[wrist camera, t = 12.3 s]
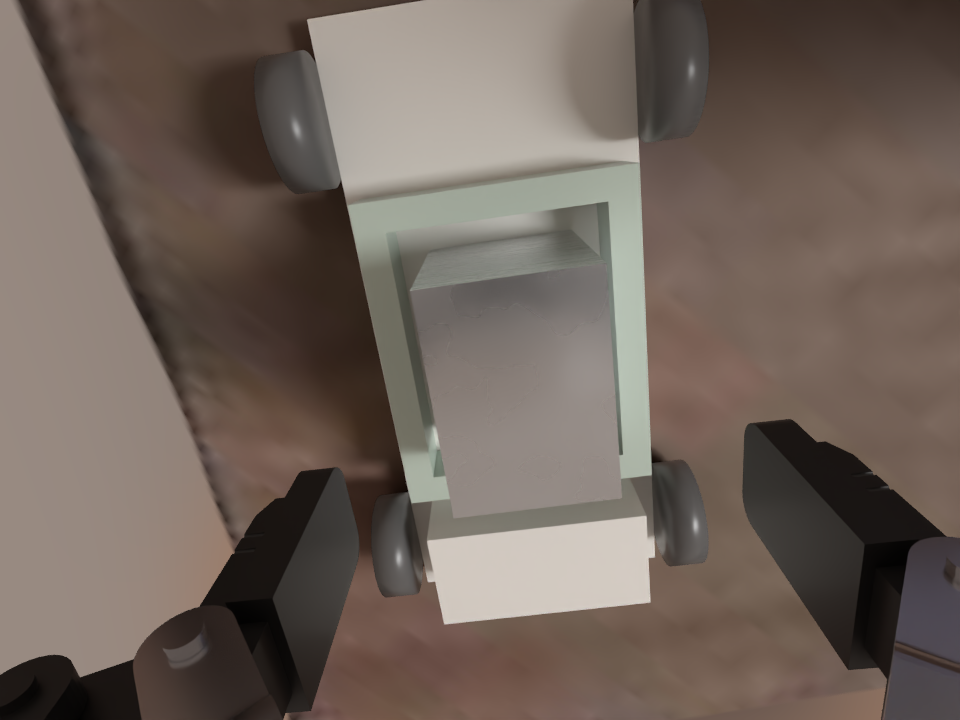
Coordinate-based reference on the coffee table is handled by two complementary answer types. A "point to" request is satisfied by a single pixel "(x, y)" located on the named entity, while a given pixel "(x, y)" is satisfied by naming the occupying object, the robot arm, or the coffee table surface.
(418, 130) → the chassis
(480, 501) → the block
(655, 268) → the coffee table surface
